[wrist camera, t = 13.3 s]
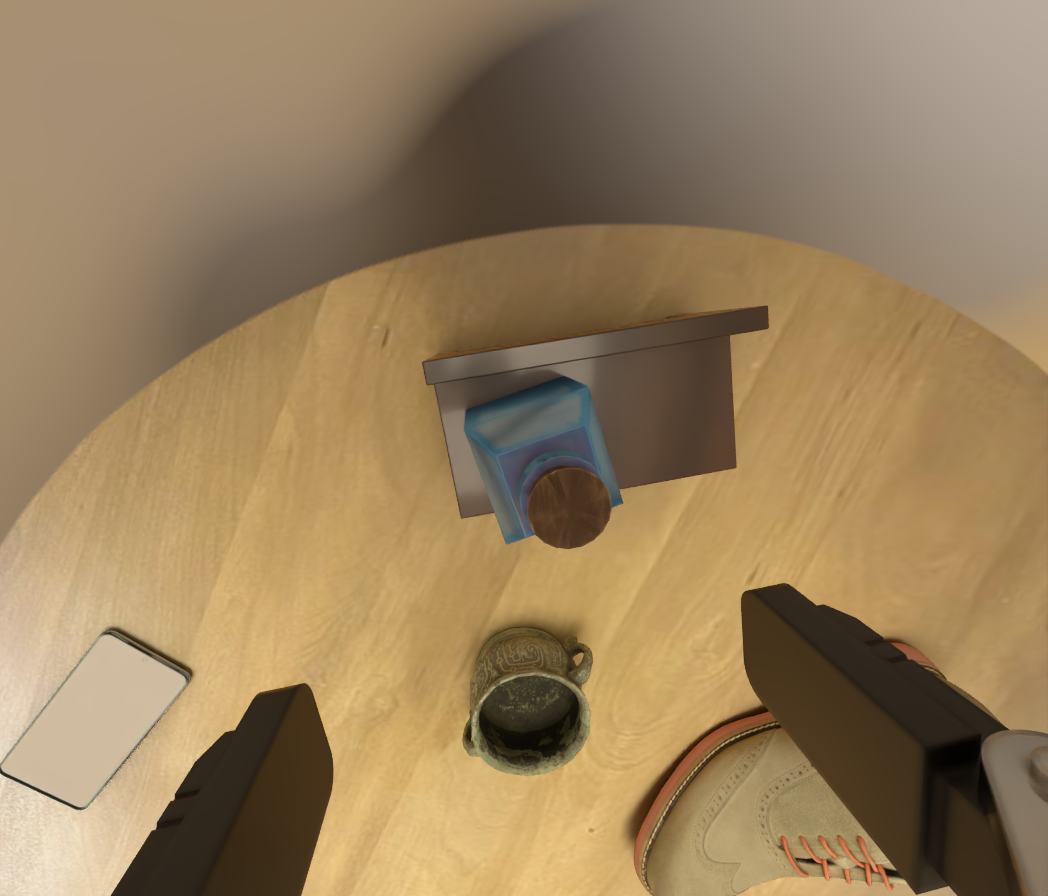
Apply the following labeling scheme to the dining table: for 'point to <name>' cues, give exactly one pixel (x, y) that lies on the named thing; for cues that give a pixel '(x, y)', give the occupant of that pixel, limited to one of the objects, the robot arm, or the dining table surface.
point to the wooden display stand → (612, 394)
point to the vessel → (528, 702)
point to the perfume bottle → (545, 463)
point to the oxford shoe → (755, 816)
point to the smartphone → (94, 720)
